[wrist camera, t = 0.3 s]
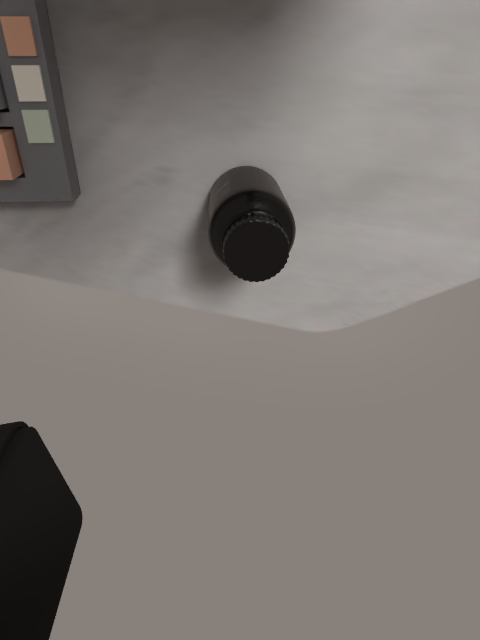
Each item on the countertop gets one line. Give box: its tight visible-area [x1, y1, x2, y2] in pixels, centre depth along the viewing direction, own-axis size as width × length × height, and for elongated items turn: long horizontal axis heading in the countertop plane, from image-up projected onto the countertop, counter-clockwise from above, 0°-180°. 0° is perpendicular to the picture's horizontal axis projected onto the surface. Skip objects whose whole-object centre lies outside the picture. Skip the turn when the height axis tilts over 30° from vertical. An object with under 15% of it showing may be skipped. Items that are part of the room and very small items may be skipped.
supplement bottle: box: [208, 166, 296, 282], centre depth 37 cm, size 7×7×12 cm
